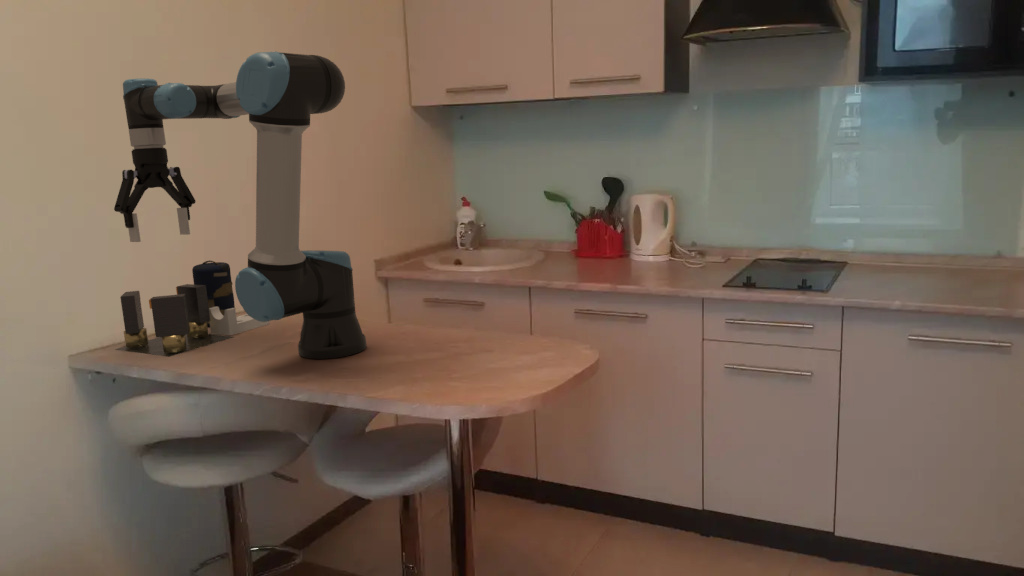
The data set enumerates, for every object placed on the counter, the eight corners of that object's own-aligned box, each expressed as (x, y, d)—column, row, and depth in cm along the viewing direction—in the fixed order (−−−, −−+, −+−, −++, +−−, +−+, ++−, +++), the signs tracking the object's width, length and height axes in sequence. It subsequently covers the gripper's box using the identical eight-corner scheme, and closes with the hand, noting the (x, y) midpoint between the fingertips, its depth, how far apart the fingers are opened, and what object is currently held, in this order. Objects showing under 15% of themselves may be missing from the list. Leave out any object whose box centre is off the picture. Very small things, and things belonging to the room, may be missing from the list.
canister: (224, 320, 221) (217, 256, 217) (243, 324, 215) (236, 258, 211) (192, 328, 213) (184, 262, 210) (211, 331, 207) (202, 264, 204)
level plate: (235, 339, 197) (234, 331, 196) (169, 359, 180) (168, 350, 180) (182, 334, 206) (180, 325, 206) (115, 352, 190) (113, 343, 190)
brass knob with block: (146, 347, 189) (138, 295, 187) (123, 349, 188) (115, 297, 186) (150, 340, 196) (143, 289, 194) (128, 342, 195) (121, 292, 193)
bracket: (230, 339, 199) (227, 310, 197) (211, 337, 202) (207, 308, 201) (269, 328, 210) (266, 300, 208) (251, 326, 213) (247, 298, 212)
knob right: (215, 334, 199) (209, 284, 197) (198, 338, 195) (192, 288, 193) (195, 332, 203) (189, 283, 201) (179, 336, 199) (172, 286, 196)
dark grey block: (192, 345, 188) (185, 293, 186) (189, 350, 184) (182, 296, 181) (159, 349, 187) (152, 296, 184) (155, 354, 182) (147, 300, 180)
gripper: (183, 146, 197) (194, 231, 201) (88, 150, 176) (102, 244, 180) (203, 145, 194) (214, 231, 197) (109, 148, 172) (123, 245, 176)
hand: (161, 238), depth 189 cm, fingers open, 13 cm apart
